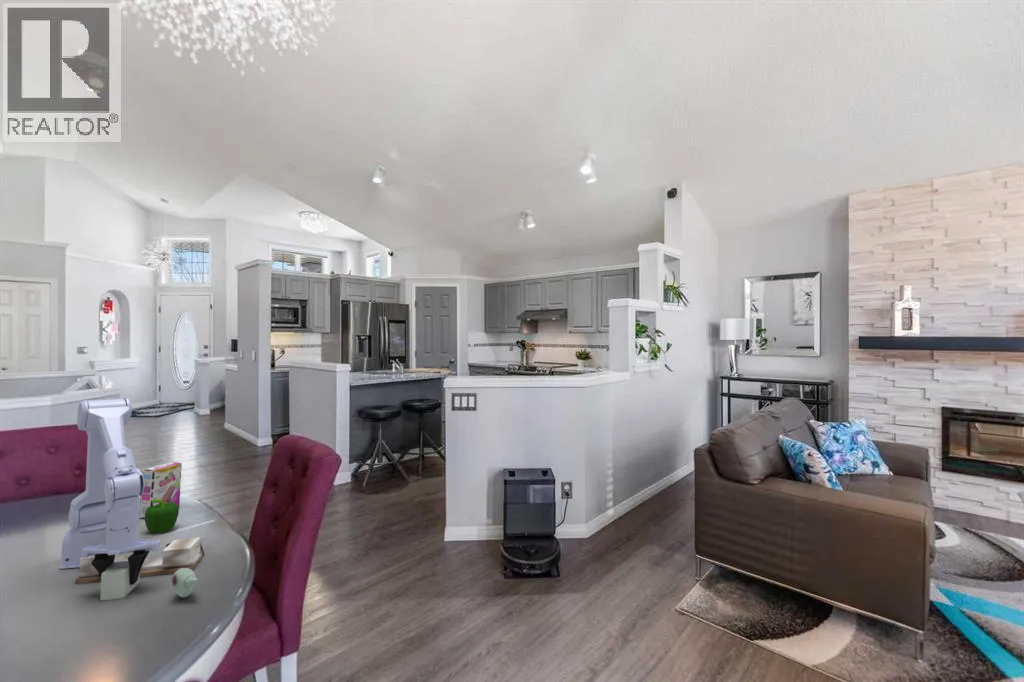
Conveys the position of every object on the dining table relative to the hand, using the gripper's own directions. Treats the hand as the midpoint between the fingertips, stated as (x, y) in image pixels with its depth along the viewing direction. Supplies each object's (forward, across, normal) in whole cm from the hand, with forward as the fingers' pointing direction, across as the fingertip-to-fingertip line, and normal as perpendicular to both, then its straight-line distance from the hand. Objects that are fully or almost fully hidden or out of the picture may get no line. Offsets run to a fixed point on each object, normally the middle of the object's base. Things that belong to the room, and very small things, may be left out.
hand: (120, 584), depth 105 cm
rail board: (+2, 0, +10) cm, 11 cm away
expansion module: (+2, 0, 0) cm, 2 cm away
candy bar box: (+2, -14, +56) cm, 58 cm away
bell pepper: (+2, -7, +39) cm, 40 cm away
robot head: (+2, +15, -7) cm, 17 cm away
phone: (+2, +6, +20) cm, 21 cm away
